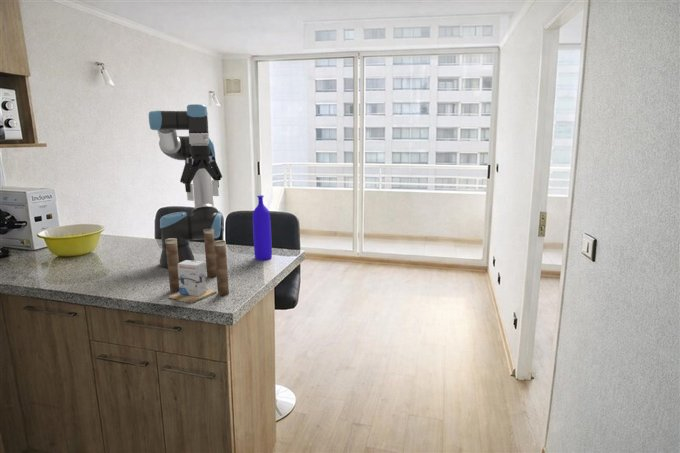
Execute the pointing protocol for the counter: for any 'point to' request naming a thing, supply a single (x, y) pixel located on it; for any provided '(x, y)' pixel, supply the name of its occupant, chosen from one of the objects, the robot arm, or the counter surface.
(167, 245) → the gate post
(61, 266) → the counter surface
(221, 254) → the corner post
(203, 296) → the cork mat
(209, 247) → the gate post
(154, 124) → the robot arm
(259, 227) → the bottle
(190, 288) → the ink box
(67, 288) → the counter surface
